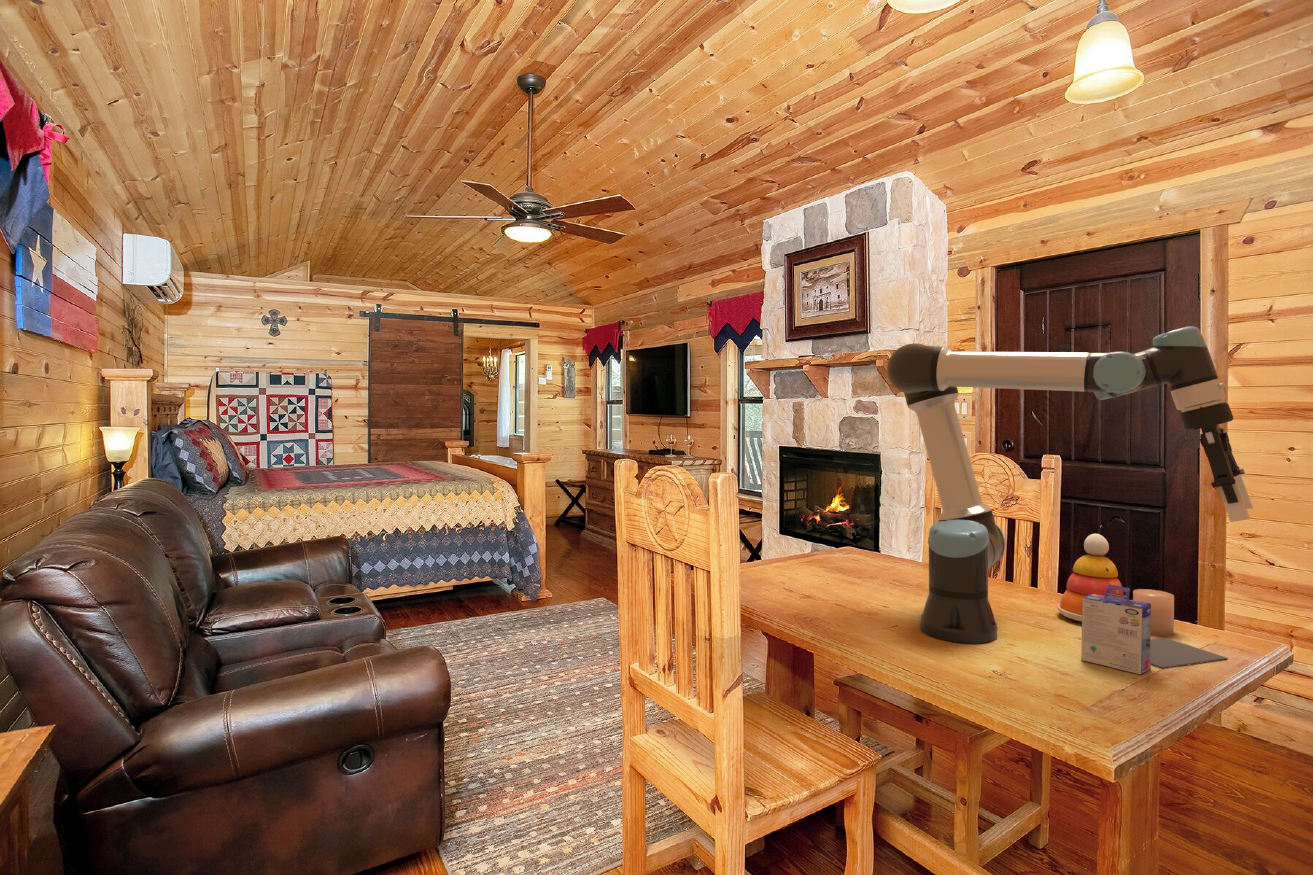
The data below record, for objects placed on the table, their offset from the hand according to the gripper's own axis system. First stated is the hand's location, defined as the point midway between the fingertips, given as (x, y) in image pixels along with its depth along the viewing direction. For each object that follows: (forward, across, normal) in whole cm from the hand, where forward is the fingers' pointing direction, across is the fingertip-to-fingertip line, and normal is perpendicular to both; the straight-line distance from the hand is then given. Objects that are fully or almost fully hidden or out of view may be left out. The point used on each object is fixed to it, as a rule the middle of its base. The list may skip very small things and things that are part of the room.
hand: (1242, 514), depth 123 cm
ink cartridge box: (+21, -19, +24) cm, 37 cm away
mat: (+23, -6, +18) cm, 30 cm away
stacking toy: (+20, +10, +32) cm, 39 cm away
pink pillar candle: (+23, +10, +22) cm, 33 cm away
